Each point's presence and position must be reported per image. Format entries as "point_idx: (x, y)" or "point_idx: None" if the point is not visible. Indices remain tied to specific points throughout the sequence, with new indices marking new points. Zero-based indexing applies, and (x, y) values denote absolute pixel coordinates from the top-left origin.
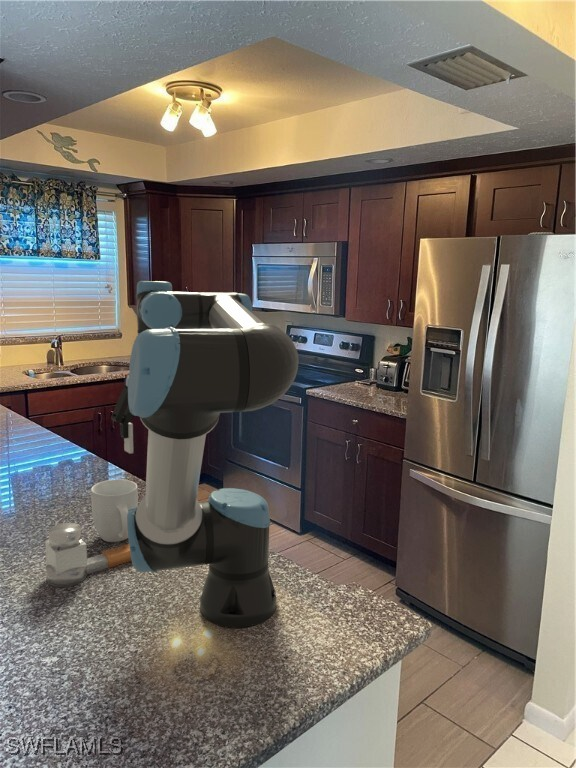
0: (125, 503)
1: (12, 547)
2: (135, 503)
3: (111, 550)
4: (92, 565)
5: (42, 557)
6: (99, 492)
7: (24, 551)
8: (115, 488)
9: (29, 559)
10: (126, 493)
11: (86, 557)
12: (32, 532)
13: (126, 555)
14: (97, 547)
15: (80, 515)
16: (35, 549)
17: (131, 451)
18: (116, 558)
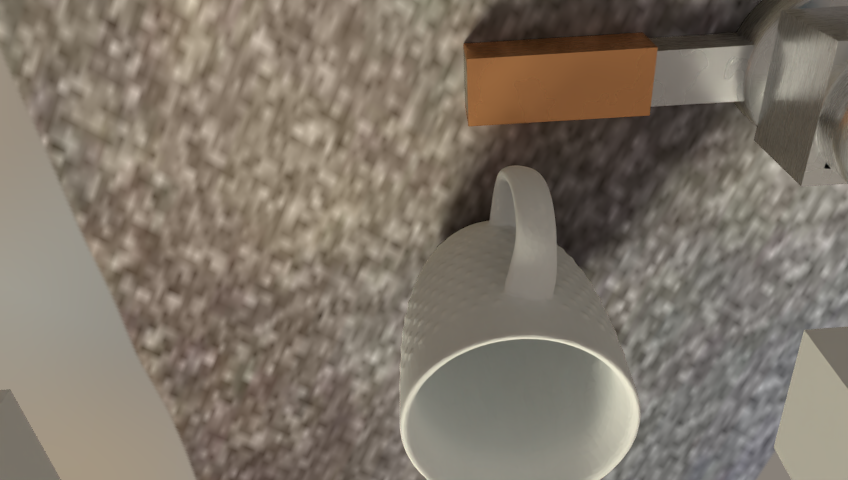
0: (507, 298)
1: None
2: (438, 306)
3: (613, 103)
4: (723, 44)
5: (782, 250)
6: (555, 451)
7: (802, 318)
8: (473, 457)
9: (823, 258)
10: (504, 336)
11: (803, 20)
12: (711, 422)
13: (563, 48)
14: (590, 222)
15: None
16: (768, 314)
17: (844, 346)
18: (614, 43)
